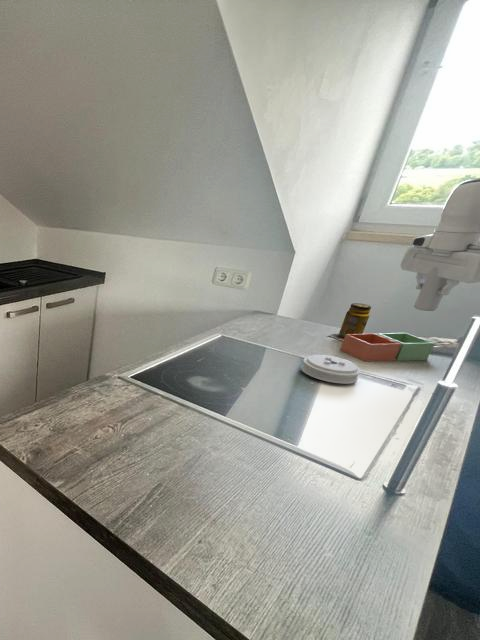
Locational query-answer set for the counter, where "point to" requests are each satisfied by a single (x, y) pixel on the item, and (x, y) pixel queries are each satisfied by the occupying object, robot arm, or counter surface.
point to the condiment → (354, 321)
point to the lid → (330, 369)
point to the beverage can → (430, 292)
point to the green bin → (410, 346)
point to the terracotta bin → (370, 347)
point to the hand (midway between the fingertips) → (431, 292)
